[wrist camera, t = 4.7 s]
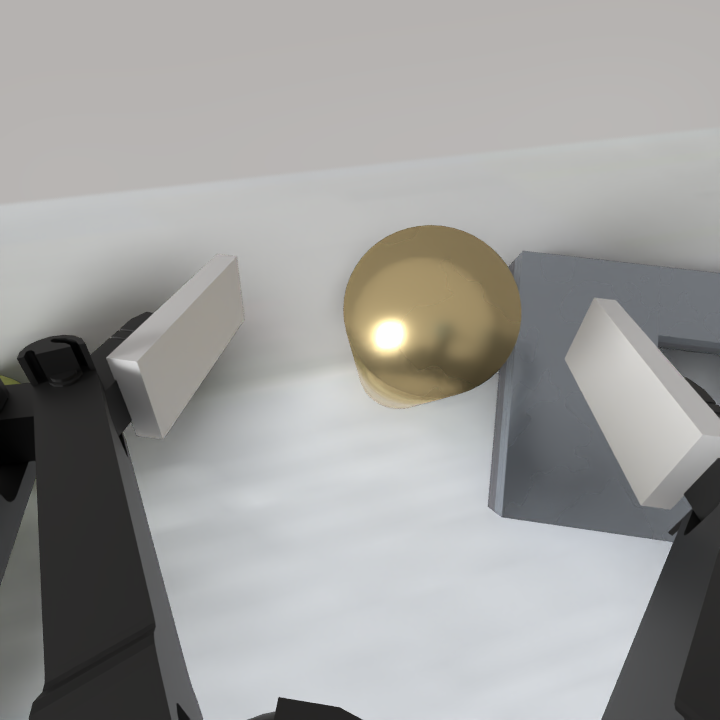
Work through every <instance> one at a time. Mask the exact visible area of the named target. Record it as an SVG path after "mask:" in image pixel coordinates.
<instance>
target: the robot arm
mask: <svg viewBox="0 0 720 720" xmlns="http://www.w3.org/2000/svg"><path fill="white" fill-rule="evenodd" d="M244 320H245V319H244V311H243V302H242V294H241V286H240V277H239V269H238V260H237V256H231V255H222V254H216V255H215V256H214V257H213V258H212V259H211V260H210V261H209V262H208V263H207V264H206V265H205V266H204V267H203V268H201V269H200V270H199V271H198V272H197V273H196V274H195V275H194V276H193V277H192V278H191V279H190V280H189V281H188V282H186V283H185V284H184V285H183V286H182V287H181V288H180V289H179V290H178V291H177V292H176V293H175V294H174V295H173V296H172V297H170V298H169V299H168V300H167V301H166V302H165V303H164V304H163V305H162V306H161V307H160V308H159V309H158V310H157V311H155V312H154V313H150V312H145V313H143V314H141V315H139V316H137V317H135V318H133V319H131V320H130V321H129V322H127V323H126V324H125V325H124V326H123V327H122V328H121V329H120V331H117V332H116V333H115V334H114V335H113V336H112V338H111V339H110V338H109V339H108V340H107V341H106V342H105V343H104V344H102V345H101V346H100V347H99V348H98V349H97V350H96V351H94V352H93V353H92V354H91V355H90V354H89V351H88V349H87V346H86V344H85V342H84V341H83V340H82V338H79V337H76V336H71V335H60V336H52V337H48V338H45V339H41V340H38V341H36V342H34V343H32V344H30V345H28V346H26V347H25V348H24V349H23V350H22V351H21V352H20V353H19V355H18V357H17V360H18V361H19V363H20V365H21V367H22V369H23V370H24V372H25V374H26V376H27V377H28V379H29V381H30V383H22V384H11V385H4V383H3V382H2V380H1V378H0V585H1V582H2V579H3V576H4V573H5V569H6V566H7V563H8V560H9V557H10V554H11V551H12V548H13V545H14V542H15V539H16V536H17V533H18V530H19V527H20V524H21V520H22V517H23V514H24V511H25V508H26V505H27V502H28V499H29V496H30V493H31V490H32V487H33V484H34V481H35V478H36V479H37V503H38V526H39V549H40V572H41V595H42V619H43V642H44V665H45V684H44V688H43V692H42V693H41V694H40V695H39V696H38V698H37V699H36V700H35V701H34V702H33V705H32V708H31V712H30V715H29V720H203V717H202V714H201V711H200V707H199V704H198V701H197V699H196V696H195V693H194V691H193V688H192V685H191V682H190V679H189V675H188V672H187V668H186V664H185V660H184V657H183V653H182V649H181V645H180V642H179V638H178V634H177V630H176V627H175V623H174V619H173V615H172V612H171V608H170V604H169V600H168V597H167V593H166V589H165V585H164V582H163V578H162V574H161V570H160V567H159V563H158V559H157V555H156V552H155V548H154V544H153V540H152V537H151V533H150V529H149V525H148V522H147V518H146V514H145V510H144V507H143V503H142V499H141V495H140V492H139V488H138V484H137V480H136V477H135V473H134V469H133V465H132V462H131V458H130V454H129V450H128V447H127V443H126V439H125V437H124V435H123V431H124V430H125V428H126V427H127V426H128V425H129V423H130V422H131V423H132V425H133V428H134V430H135V433H136V435H137V436H140V437H147V438H154V439H162V440H163V439H164V438H165V436H166V435H167V433H168V432H169V430H170V429H171V427H172V426H173V424H174V423H175V421H176V420H177V418H178V417H179V416H180V414H181V413H182V411H183V410H184V408H185V407H186V405H187V404H188V402H189V401H190V399H191V398H192V396H193V395H194V393H195V392H196V390H197V389H198V387H199V386H200V385H201V383H202V382H203V380H204V379H205V377H206V376H207V374H208V373H209V371H210V370H211V368H212V367H213V365H214V364H215V362H216V361H217V359H218V358H219V357H220V355H221V354H222V352H223V351H224V349H225V348H226V346H227V345H228V343H229V342H230V340H231V339H232V337H233V336H234V334H235V333H236V331H237V330H238V328H239V327H240V326H241V324H242V323H243V321H244ZM565 361H566V363H567V365H568V367H569V369H570V371H571V372H572V374H573V376H574V378H575V380H576V382H577V384H578V386H579V388H580V390H581V392H582V394H583V395H584V397H585V399H586V401H587V403H588V405H589V407H590V409H591V411H592V413H593V415H594V417H595V419H596V420H597V422H598V424H599V426H600V428H601V430H602V432H603V434H604V436H605V438H606V440H607V442H608V443H609V445H610V447H611V449H612V451H613V453H614V455H615V457H616V459H617V461H618V463H619V465H620V466H621V468H622V470H623V472H624V474H625V476H626V478H627V480H628V482H629V484H630V486H631V488H632V490H633V491H634V493H635V495H636V497H637V499H638V501H639V503H640V505H641V506H648V507H655V508H662V509H669V510H671V508H672V507H673V506H674V505H675V504H676V503H677V502H678V501H679V500H680V499H681V498H682V497H683V496H685V498H686V499H687V501H688V502H689V504H690V505H691V507H692V509H691V510H690V511H689V512H688V513H687V514H686V515H685V516H684V517H683V518H682V519H681V520H680V521H679V522H678V523H677V524H676V525H675V526H674V527H673V528H672V529H671V530H670V531H669V532H668V533H669V534H670V535H672V536H673V535H674V534H675V533H676V532H677V535H676V537H675V540H674V542H673V545H672V547H671V549H670V552H669V554H668V557H667V559H666V562H665V564H664V567H663V569H662V572H661V574H660V577H659V579H658V581H657V584H656V586H655V589H654V591H653V594H652V596H651V599H650V601H649V604H648V606H647V609H646V611H645V613H644V616H643V618H642V621H641V623H640V626H639V628H638V631H637V633H636V636H635V638H634V641H633V643H632V645H631V648H630V650H629V653H628V655H627V658H626V660H625V663H624V665H623V668H622V670H621V673H620V675H619V677H618V680H617V682H616V685H615V687H614V690H613V692H612V695H611V697H610V700H609V702H608V705H607V707H606V709H605V712H604V714H603V717H602V719H601V720H720V407H719V405H716V404H715V403H716V402H715V401H714V400H713V399H712V398H711V397H710V396H709V394H708V393H707V392H706V391H705V390H704V389H702V388H701V387H700V386H698V385H697V384H695V383H694V382H692V381H691V380H690V379H688V378H686V377H683V376H682V375H681V374H680V373H679V372H678V370H677V369H676V368H675V367H674V366H673V365H672V364H671V363H670V361H669V360H668V359H667V358H666V357H665V356H664V355H663V353H662V352H661V351H660V350H659V349H658V348H657V347H656V345H655V344H654V343H653V342H652V341H651V340H650V339H649V337H648V336H647V335H646V334H645V333H644V332H643V331H642V329H641V328H640V327H639V326H638V325H637V324H636V323H635V321H634V320H633V319H632V318H631V317H630V316H629V315H628V313H627V312H626V311H625V310H624V309H623V308H622V307H621V306H620V304H619V303H618V302H617V301H616V300H610V299H602V298H594V299H593V301H592V303H591V305H590V307H589V309H588V311H587V313H586V315H585V317H584V319H583V322H582V324H581V326H580V328H579V330H578V332H577V334H576V336H575V338H574V340H573V342H572V344H571V346H570V348H569V350H568V353H567V355H566V357H565ZM248 720H362V719H360V718H358V717H357V716H355V715H353V714H351V713H349V712H347V711H345V710H344V709H342V708H340V707H334V706H328V705H322V704H316V703H310V702H304V701H298V700H292V699H286V698H280V697H279V698H278V702H277V707H276V712H271V713H266V714H262V715H259V716H256V717H254V718H251V719H248Z"/></svg>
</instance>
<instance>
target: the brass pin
mask: <svg viewBox="0 0 720 720" xmlns="http://www.w3.org/2000/svg"><path fill="white" fill-rule="evenodd" d="M343 310H344V322H345V327H346V332H347V336H348V339H349V343H350V346H351V350H352V353H353V357H354V360H355V364H356V367H357V371H358V374H359V378H360V381H361V384H362V386H363V388H364V390H365V391H366V393H367V394H368V395H369V396H370V397H371V398H372V399H373V400H374V401H376V402H377V403H379V404H381V405H383V406H386V407H389V408H394V409H404V408H409V407H413V406H416V405H420V404H424V403H427V402H431V401H435V400H439V399H442V398H446V397H450V396H453V395H457V394H460V393H463V392H466V391H469V390H471V389H473V388H475V387H477V386H479V385H481V384H482V383H484V382H485V381H487V380H488V379H489V378H491V377H492V376H493V375H494V374H495V373H496V372H497V371H498V370H499V369H500V368H501V367H502V366H503V364H504V363H505V362H506V360H507V359H508V357H509V356H510V354H511V352H512V350H513V348H514V346H515V344H516V341H517V338H518V335H519V331H520V325H521V301H520V295H519V291H518V287H517V284H516V282H515V280H514V277H513V275H512V273H511V272H510V270H509V268H508V266H507V265H506V264H505V262H504V261H503V260H502V258H501V257H500V256H499V255H498V254H497V253H496V252H495V251H494V250H493V249H492V248H491V247H490V246H488V245H487V244H486V243H484V242H483V241H481V240H480V239H478V238H476V237H475V236H473V235H471V234H469V233H466V232H464V231H461V230H458V229H455V228H450V227H445V226H434V225H427V226H417V227H412V228H407V229H404V230H401V231H398V232H395V233H393V234H391V235H389V236H387V237H386V238H384V239H382V240H381V241H379V242H378V243H377V244H375V245H374V246H373V247H372V248H371V249H369V250H368V252H367V253H366V254H365V255H364V256H363V257H362V258H361V260H360V261H359V262H358V264H357V265H356V267H355V269H354V271H353V272H352V274H351V276H350V279H349V282H348V285H347V288H346V292H345V297H344V308H343Z"/></svg>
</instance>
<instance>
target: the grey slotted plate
mask: <svg viewBox="0 0 720 720" xmlns="http://www.w3.org/2000/svg"><path fill="white" fill-rule="evenodd" d="M508 268H509V270H510V272H511V273H512V275H513V277H514V280H515V282H516V284H517V287H518V291H519V295H520V301H521V325H520V331H519V335H518V338H517V341H516V344H515V346H514V348H513V350H512V352H511V354H510V356H509V357H508V359H507V360H506V362H505V363H504V364H503V366H502V367H501V368H500V370H499V382H498V394H497V405H496V417H495V429H494V441H493V453H492V464H491V476H490V488H489V500H488V507H489V508H490V509H492V510H493V511H494V512H496V513H497V514H498V515H500V516H501V517H504V518H511V519H518V520H525V521H532V522H539V523H546V524H553V525H559V526H566V527H573V528H580V529H587V530H594V531H601V532H608V533H614V534H621V535H628V536H635V537H642V538H649V539H656V540H663V541H670V542H674V540H675V537H676V535H677V532H676V533H675V534H674V535H673V536H672V535H670V534H669V533H668V532H669V531H670V530H671V529H672V528H673V527H674V526H675V525H676V524H677V523H678V522H679V521H680V520H681V519H682V518H683V517H684V516H685V515H686V514H687V513H688V512H689V511H690V510H691V509H692V507H691V505H690V504H689V502H688V501H687V499H686V498H685V496H683V497H682V498H681V499H680V500H679V501H678V502H677V503H676V504H675V505H674V506H673V507H672V508H671V510H669V509H662V508H655V507H648V506H641V505H640V503H639V501H638V499H637V497H636V495H635V493H634V491H633V490H632V488H631V486H630V484H629V482H628V480H627V478H626V476H625V474H624V472H623V470H622V468H621V466H620V465H619V463H618V461H617V459H616V457H615V455H614V453H613V451H612V449H611V447H610V445H609V443H608V442H607V440H606V438H605V436H604V434H603V432H602V430H601V428H600V426H599V424H598V422H597V420H596V419H595V417H594V415H593V413H592V411H591V409H590V407H589V405H588V403H587V401H586V399H585V397H584V395H583V394H582V392H581V390H580V388H579V386H578V384H577V382H576V380H575V378H574V376H573V374H572V372H571V371H570V369H569V367H568V365H567V363H566V361H565V357H566V355H567V353H568V350H569V348H570V346H571V344H572V342H573V340H574V338H575V336H576V334H577V332H578V330H579V328H580V326H581V324H582V322H583V319H584V317H585V315H586V313H587V311H588V309H589V307H590V305H591V303H592V301H593V299H594V298H602V299H610V300H616V301H617V302H618V303H619V304H620V306H621V307H622V308H623V309H624V310H625V311H626V312H627V313H628V315H629V316H630V317H631V318H632V319H633V320H634V321H635V323H636V324H637V325H638V326H639V327H640V328H641V329H642V331H643V332H644V333H645V334H646V335H647V336H648V337H649V339H650V340H651V341H652V342H653V343H654V344H655V345H656V347H657V348H658V341H659V342H667V343H675V344H683V345H691V346H700V347H708V348H716V349H720V273H713V272H704V271H695V270H686V269H678V268H669V267H660V266H651V265H642V264H634V263H625V262H616V261H607V260H599V259H590V258H581V257H572V256H563V255H555V254H546V253H537V252H528V251H522V253H521V254H520V255H519V256H518V257H517V258H516V259H515V260H514V261H513V262H512V263H511V265H510V266H509V267H508Z"/></svg>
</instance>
